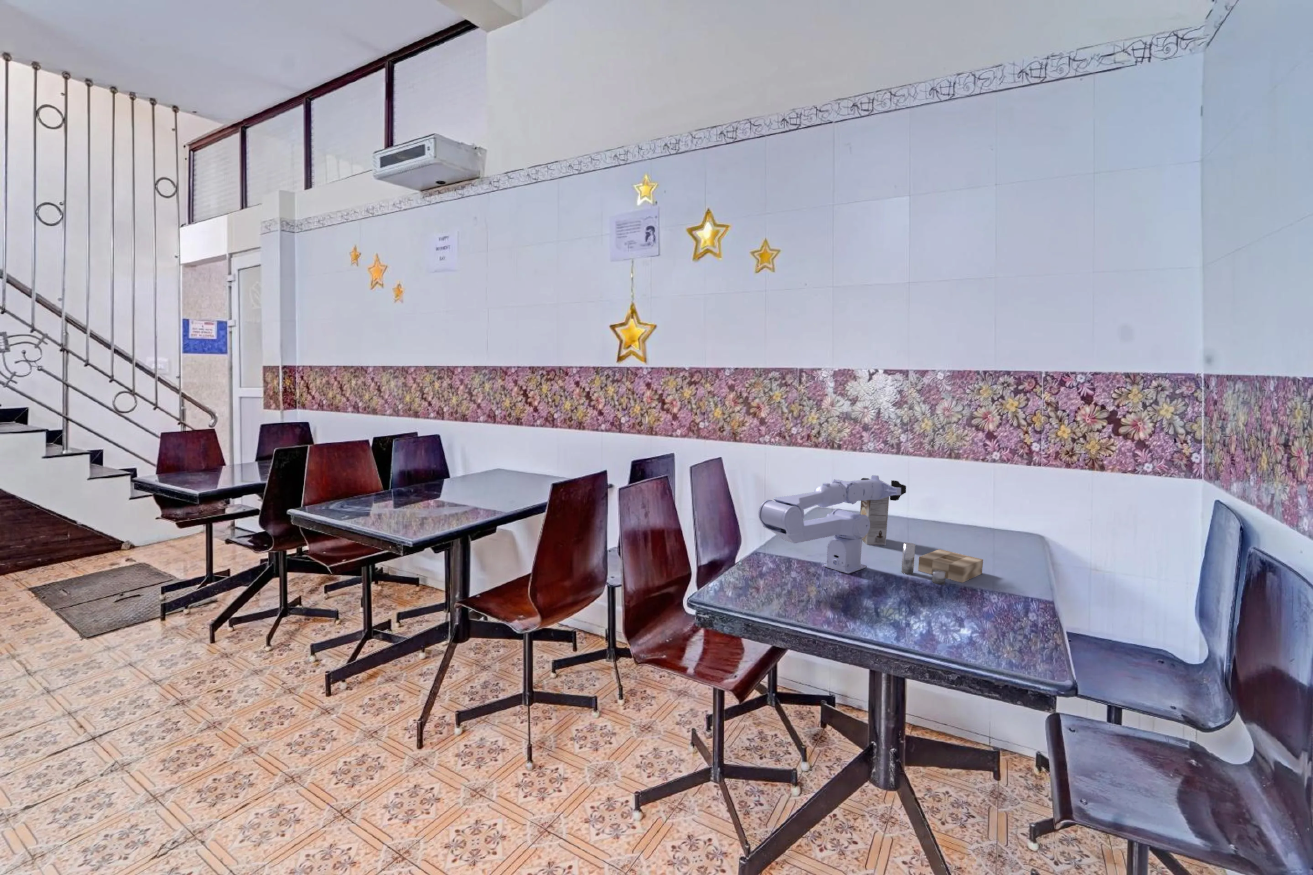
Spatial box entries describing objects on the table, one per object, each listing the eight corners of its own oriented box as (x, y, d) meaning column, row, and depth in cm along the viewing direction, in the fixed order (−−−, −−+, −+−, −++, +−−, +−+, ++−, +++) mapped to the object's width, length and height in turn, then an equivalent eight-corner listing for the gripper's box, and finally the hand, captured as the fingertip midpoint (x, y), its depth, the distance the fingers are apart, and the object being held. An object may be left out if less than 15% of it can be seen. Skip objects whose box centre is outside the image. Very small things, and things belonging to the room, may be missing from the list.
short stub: (941, 585, 161) (942, 574, 160) (929, 582, 163) (930, 571, 163) (946, 583, 163) (947, 571, 162) (935, 579, 165) (936, 568, 164)
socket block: (962, 582, 163) (963, 567, 162) (918, 570, 172) (919, 556, 172) (981, 573, 171) (983, 559, 170) (938, 562, 180) (939, 548, 179)
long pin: (909, 575, 168) (911, 546, 167) (899, 572, 170) (901, 543, 169) (915, 573, 170) (917, 544, 169) (904, 570, 172) (906, 541, 171)
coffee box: (857, 536, 206) (860, 488, 204) (877, 537, 206) (880, 489, 204) (866, 544, 197) (869, 494, 195) (887, 545, 196) (890, 495, 195)
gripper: (887, 477, 169) (916, 476, 177) (843, 474, 181) (871, 472, 189) (887, 503, 169) (915, 500, 177) (843, 498, 181) (871, 496, 189)
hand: (893, 488), depth 183 cm, fingers open, 7 cm apart
